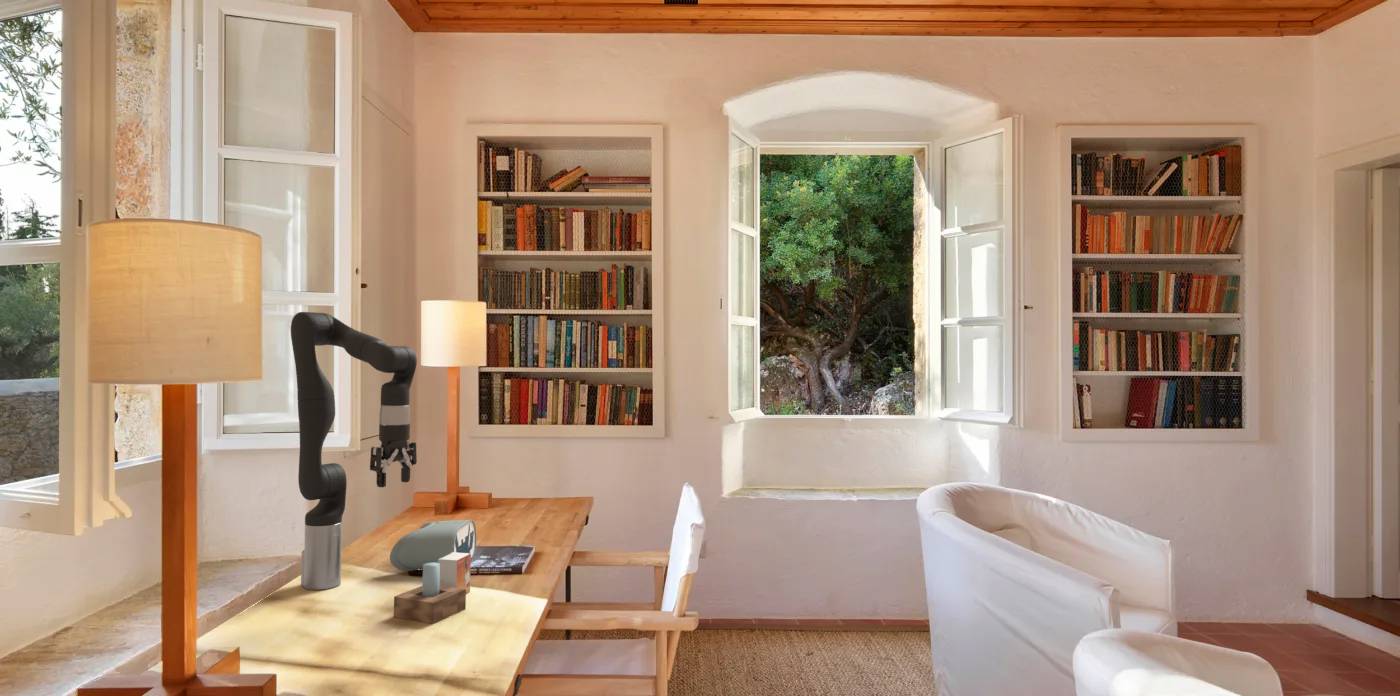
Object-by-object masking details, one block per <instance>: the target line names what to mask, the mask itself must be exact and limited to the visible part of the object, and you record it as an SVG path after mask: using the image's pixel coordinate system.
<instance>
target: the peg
mask: <svg viewBox="0 0 1400 696" xmlns="http://www.w3.org/2000/svg"><path fill="white" fill-rule="evenodd" d="M439 583H440V564H439V563H426V564H423V571H422V586H423V588H422V596H426V597H434V596H437V595H439Z"/></svg>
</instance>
